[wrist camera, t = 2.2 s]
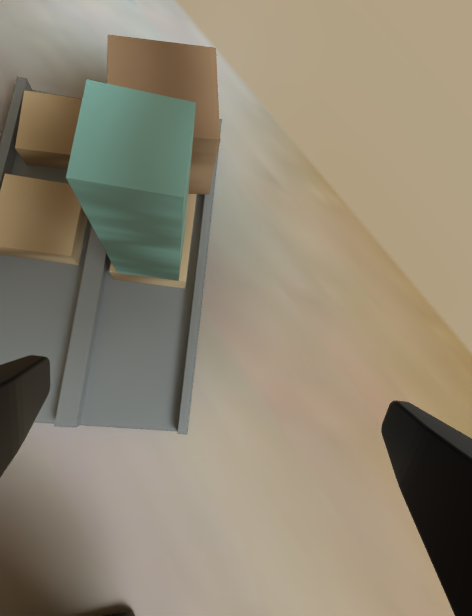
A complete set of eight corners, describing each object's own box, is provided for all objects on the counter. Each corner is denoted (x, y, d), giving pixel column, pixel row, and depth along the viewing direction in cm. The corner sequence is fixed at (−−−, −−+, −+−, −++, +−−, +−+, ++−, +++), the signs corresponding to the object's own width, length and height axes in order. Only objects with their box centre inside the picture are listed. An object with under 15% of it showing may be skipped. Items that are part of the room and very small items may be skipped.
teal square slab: (114, 279, 19) (50, 174, 9) (139, 125, 22) (110, -98, 11) (185, 288, 20) (197, 199, 10) (203, 137, 22) (229, -63, 12)
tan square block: (1, 254, 19) (-14, 244, 17) (17, 188, 20) (4, 173, 18) (78, 265, 19) (71, 256, 18) (91, 200, 20) (84, 186, 19)
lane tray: (-48, 414, 18) (-72, 418, 16) (29, 100, 22) (17, 76, 20) (185, 429, 20) (187, 434, 18) (218, 138, 24) (221, 119, 22)
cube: (122, 190, 19) (105, 130, 14) (122, 114, 20) (107, 34, 15) (209, 194, 20) (220, 139, 15) (206, 121, 21) (215, 47, 16)
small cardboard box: (26, 164, 20) (14, 148, 18) (34, 110, 21) (24, 90, 19) (99, 172, 21) (93, 157, 19) (104, 120, 21) (100, 101, 20)
